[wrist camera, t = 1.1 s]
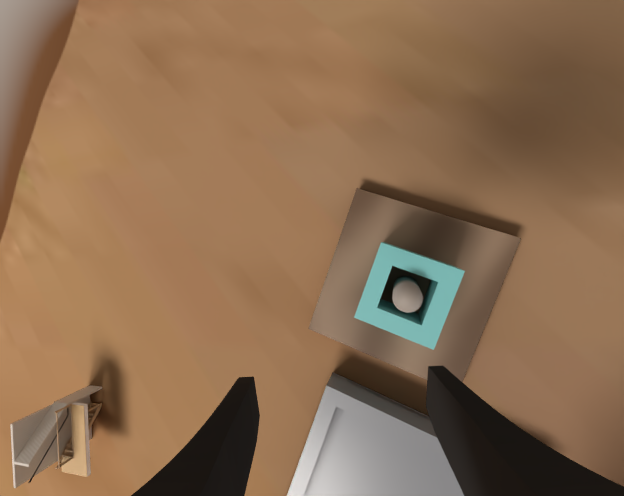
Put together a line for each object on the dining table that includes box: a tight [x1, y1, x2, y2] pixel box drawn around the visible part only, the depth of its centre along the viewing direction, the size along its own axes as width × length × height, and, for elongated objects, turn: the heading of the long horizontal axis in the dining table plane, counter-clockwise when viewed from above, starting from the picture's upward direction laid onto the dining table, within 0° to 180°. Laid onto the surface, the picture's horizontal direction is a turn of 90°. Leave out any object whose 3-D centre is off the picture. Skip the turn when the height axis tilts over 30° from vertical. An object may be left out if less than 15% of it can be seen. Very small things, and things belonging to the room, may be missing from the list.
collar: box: [354, 242, 465, 350], centre depth 22 cm, size 5×5×4 cm
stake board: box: [309, 188, 521, 382], centre depth 22 cm, size 12×12×6 cm
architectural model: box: [11, 385, 102, 488], centre depth 30 cm, size 3×7×7 cm, turn 2°
